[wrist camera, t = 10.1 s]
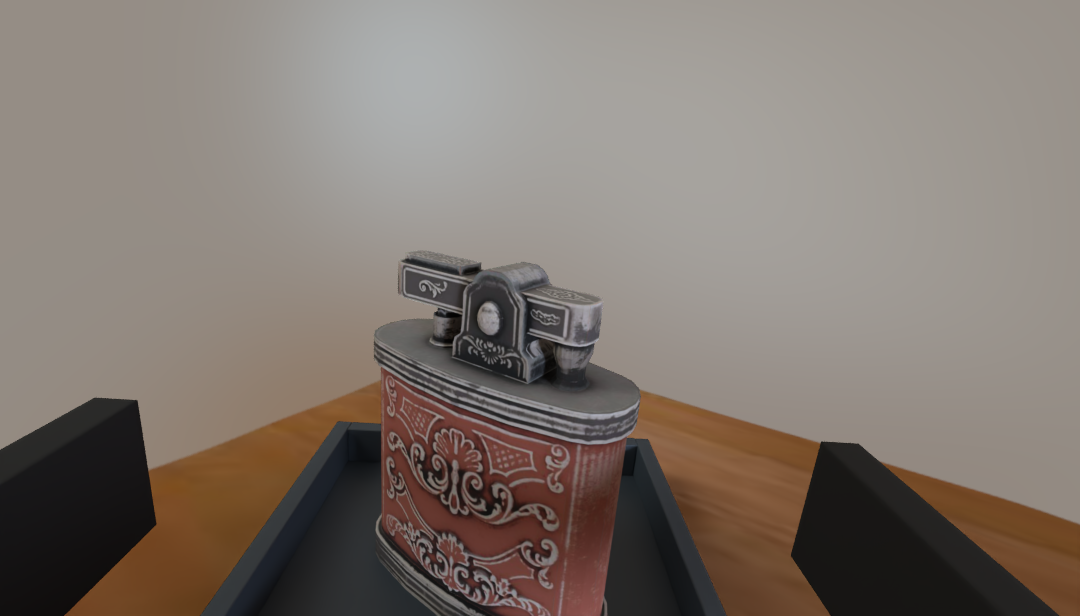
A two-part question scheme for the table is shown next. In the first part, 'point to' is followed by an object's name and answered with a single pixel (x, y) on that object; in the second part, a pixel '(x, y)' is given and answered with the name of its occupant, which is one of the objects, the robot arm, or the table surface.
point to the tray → (377, 596)
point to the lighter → (498, 442)
